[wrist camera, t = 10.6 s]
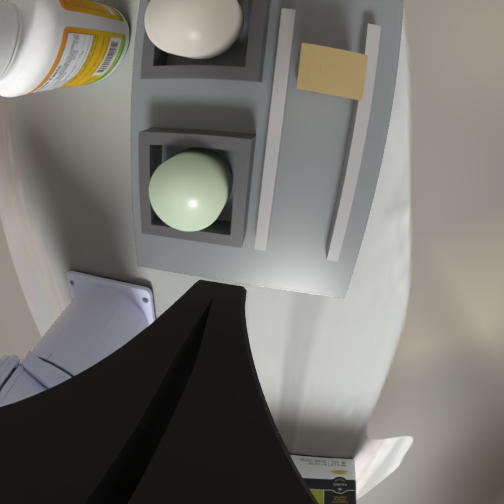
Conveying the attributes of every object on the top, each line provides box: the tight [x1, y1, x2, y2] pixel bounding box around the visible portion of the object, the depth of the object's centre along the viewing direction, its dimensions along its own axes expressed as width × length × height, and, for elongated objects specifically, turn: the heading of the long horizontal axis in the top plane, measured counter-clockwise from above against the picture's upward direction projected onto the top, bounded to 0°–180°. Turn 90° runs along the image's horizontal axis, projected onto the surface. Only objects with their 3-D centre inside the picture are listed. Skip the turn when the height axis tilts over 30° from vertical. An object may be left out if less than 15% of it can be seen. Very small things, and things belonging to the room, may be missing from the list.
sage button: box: [149, 147, 233, 232], centre depth 15 cm, size 4×4×2 cm
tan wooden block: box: [296, 43, 368, 101], centre depth 11 cm, size 2×2×3 cm
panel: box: [131, 0, 404, 298], centre depth 14 cm, size 18×13×4 cm
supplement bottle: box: [0, 0, 129, 97], centre depth 10 cm, size 5×5×10 cm
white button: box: [144, 0, 244, 59], centre depth 10 cm, size 4×4×2 cm
